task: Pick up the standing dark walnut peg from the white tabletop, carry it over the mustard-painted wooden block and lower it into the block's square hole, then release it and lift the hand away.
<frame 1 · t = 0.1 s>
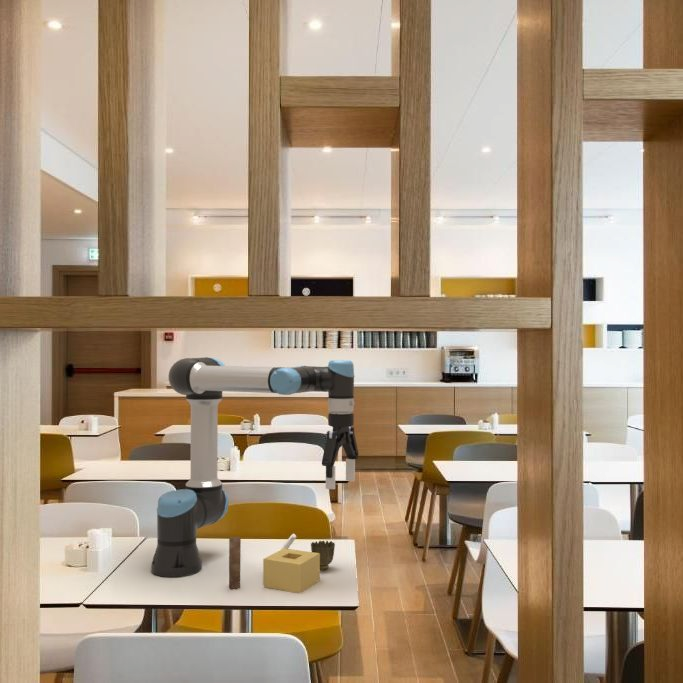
hand: (340, 484, 213), 28 cm above the table, tool pointing down, fingers open, 13 cm apart
cup: (322, 569, 223), on the table
walnut peg: (234, 587, 206), on the table
hook: (284, 565, 228), on the table
hole block: (291, 583, 210), on the table
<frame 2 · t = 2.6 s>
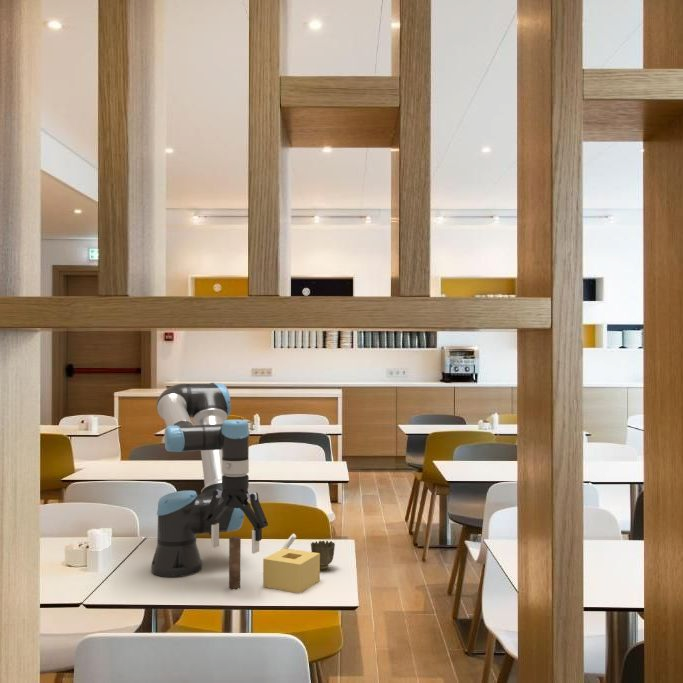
hand: (235, 549, 206), 11 cm above the table, tool pointing down, fingers open, 13 cm apart
nothing on the table moved.
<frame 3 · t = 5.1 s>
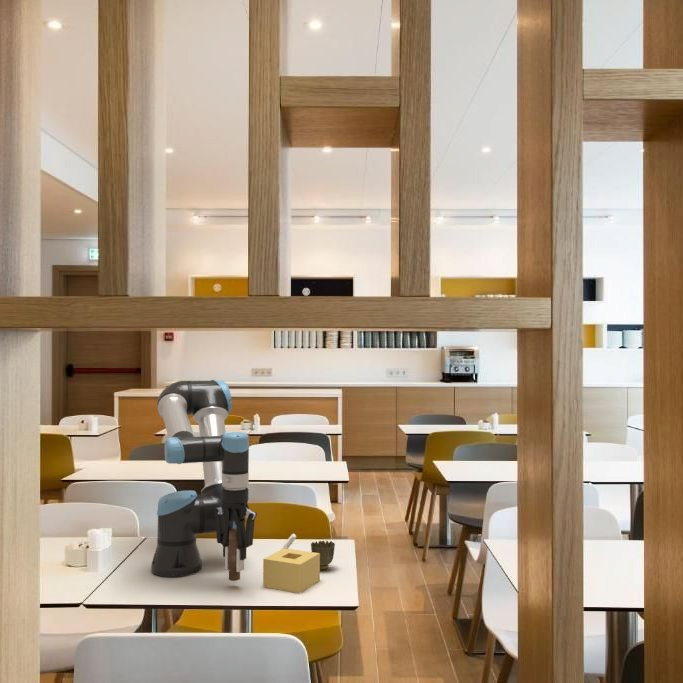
hand: (234, 569, 206), 5 cm above the table, tool pointing down, fingers closed on walnut peg, 3 cm apart
walnut peg: (234, 578, 206), point 2 cm above the table, touching gripper
everything else where it was.
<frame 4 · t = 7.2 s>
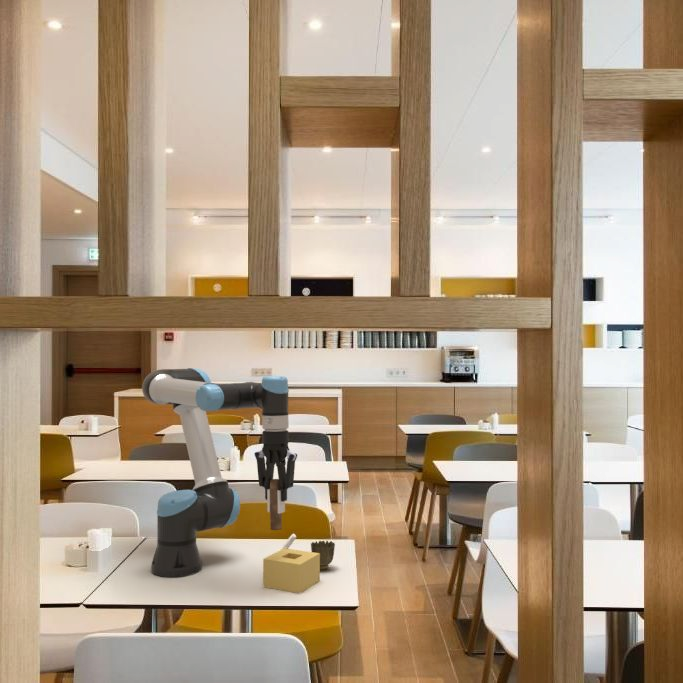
hand: (276, 511, 208), 21 cm above the table, tool pointing down, fingers closed on walnut peg, 3 cm apart
walnut peg: (276, 528, 208), point 16 cm above the table, touching gripper
everything else where it was.
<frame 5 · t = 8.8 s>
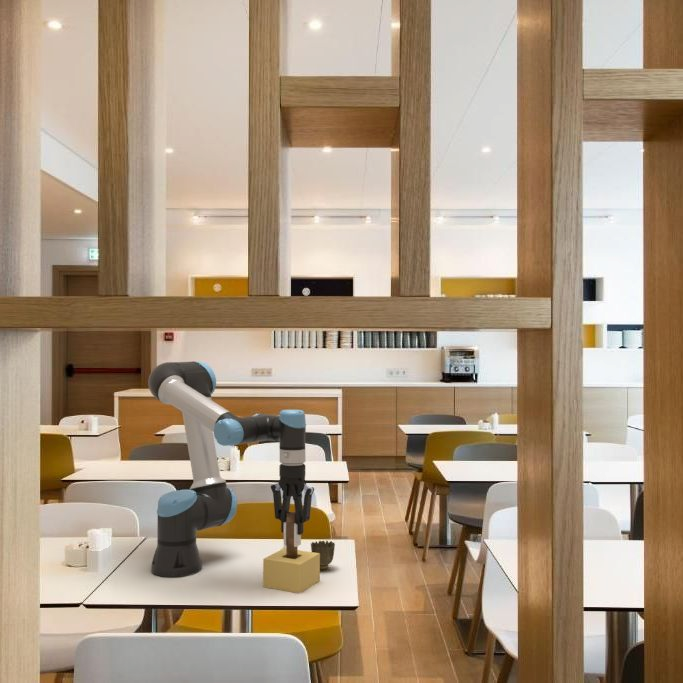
hand: (292, 544, 210), 11 cm above the table, tool pointing down, fingers closed on walnut peg, 3 cm apart
walnut peg: (291, 561, 209), point 6 cm above the table, touching gripper
everything else where it was.
when the fingers open (9 cm above the table, at t = 9.8 s): walnut peg drops 3 cm, resting on hole block.
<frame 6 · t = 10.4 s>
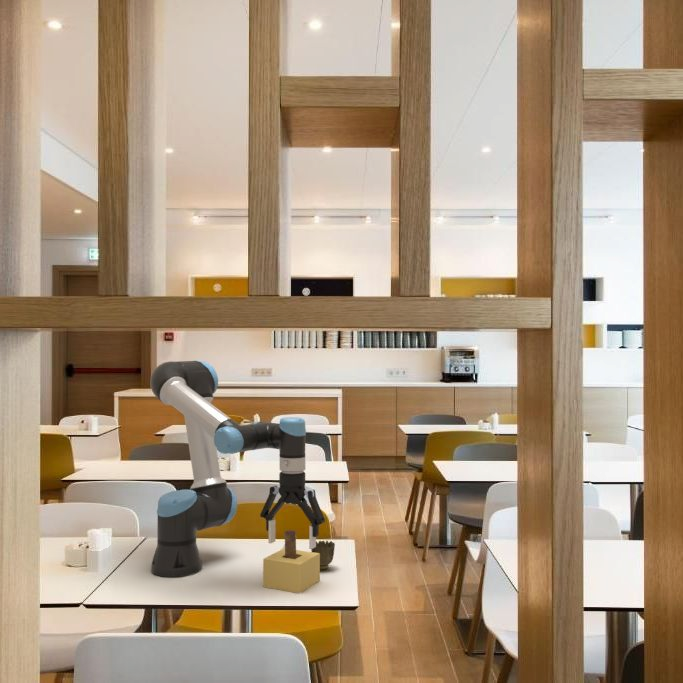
hand: (292, 545, 210), 11 cm above the table, tool pointing down, fingers open, 13 cm apart
walnut peg: (291, 580, 210), point 1 cm above the table, touching hole block
everything else where it was.
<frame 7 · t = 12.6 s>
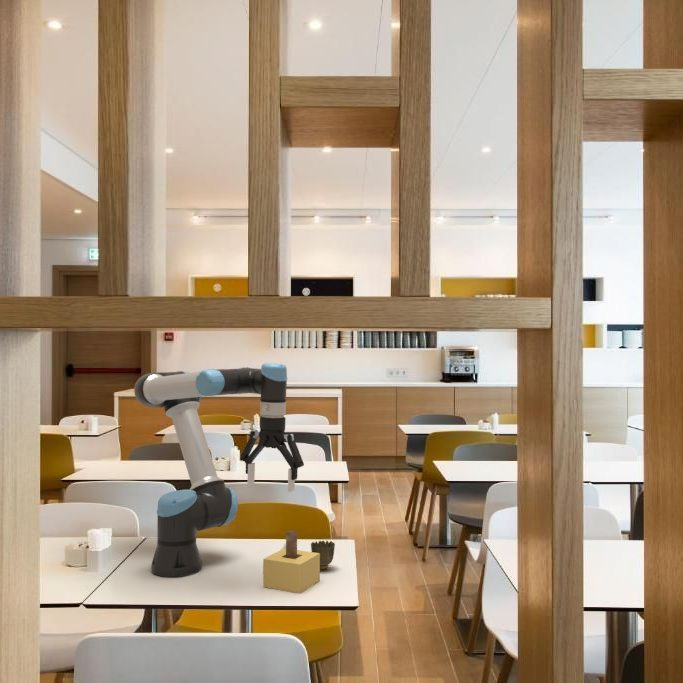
hand: (270, 488, 213), 27 cm above the table, tool pointing down, fingers open, 13 cm apart
nothing on the table moved.
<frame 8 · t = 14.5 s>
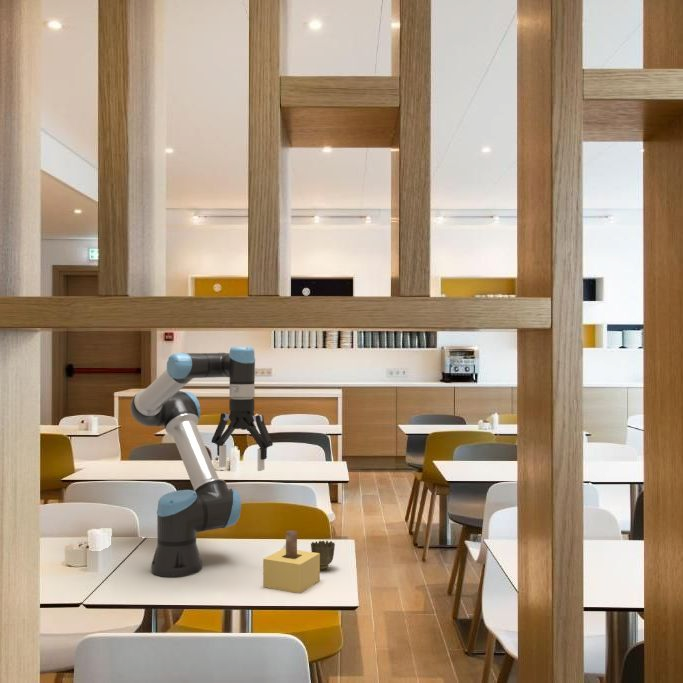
hand: (241, 468, 218), 32 cm above the table, tool pointing down, fingers open, 13 cm apart
nothing on the table moved.
at the end: walnut peg 0.1 cm off-centre on the hole block, point 1.0 cm above the hole block's base; walnut peg tilted 0°; the gripper is holding nothing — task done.
